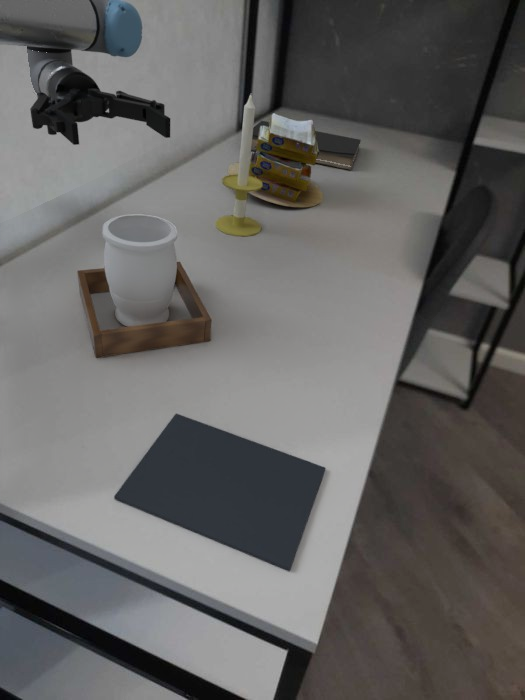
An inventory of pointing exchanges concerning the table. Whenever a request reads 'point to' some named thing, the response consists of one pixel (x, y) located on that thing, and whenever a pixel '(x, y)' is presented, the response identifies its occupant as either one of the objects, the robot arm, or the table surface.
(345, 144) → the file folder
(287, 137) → the snack boxes on plate
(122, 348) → the wooden square frame
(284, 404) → the table surface
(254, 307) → the table surface
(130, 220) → the jar
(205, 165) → the table surface
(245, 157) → the candle
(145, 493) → the mat
